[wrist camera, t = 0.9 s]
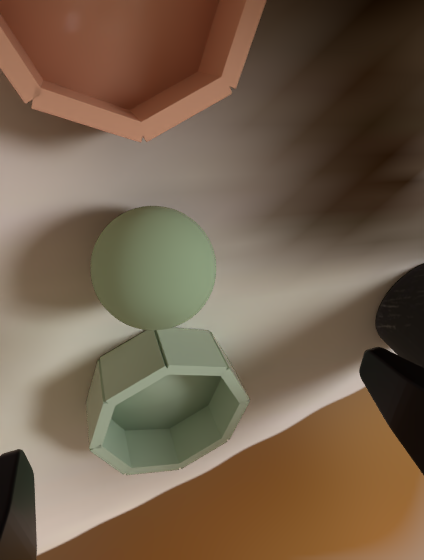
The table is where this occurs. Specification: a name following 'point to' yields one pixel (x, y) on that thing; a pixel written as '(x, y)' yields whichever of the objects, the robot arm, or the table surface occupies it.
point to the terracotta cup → (126, 58)
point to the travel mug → (404, 317)
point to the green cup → (163, 401)
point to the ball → (153, 268)
